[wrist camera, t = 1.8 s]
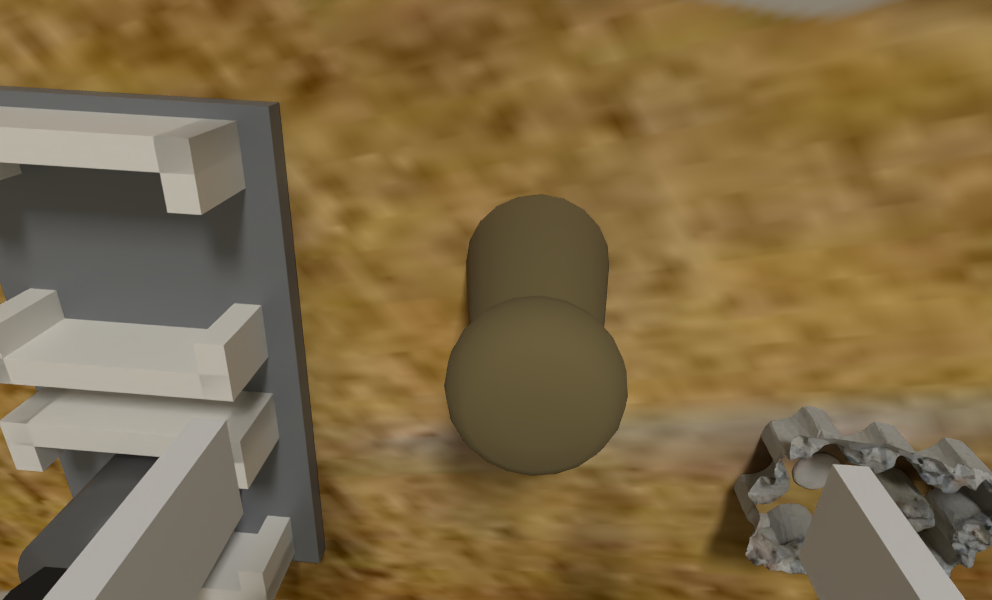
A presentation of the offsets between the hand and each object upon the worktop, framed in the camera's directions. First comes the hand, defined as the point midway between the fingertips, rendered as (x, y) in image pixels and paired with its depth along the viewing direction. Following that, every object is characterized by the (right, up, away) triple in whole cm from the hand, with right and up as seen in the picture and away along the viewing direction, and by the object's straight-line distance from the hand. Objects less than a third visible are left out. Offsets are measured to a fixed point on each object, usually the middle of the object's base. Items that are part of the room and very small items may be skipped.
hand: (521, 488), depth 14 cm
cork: (+1, +6, +12) cm, 14 cm away
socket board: (-16, +2, +16) cm, 22 cm away
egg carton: (+17, -4, +16) cm, 24 cm away
